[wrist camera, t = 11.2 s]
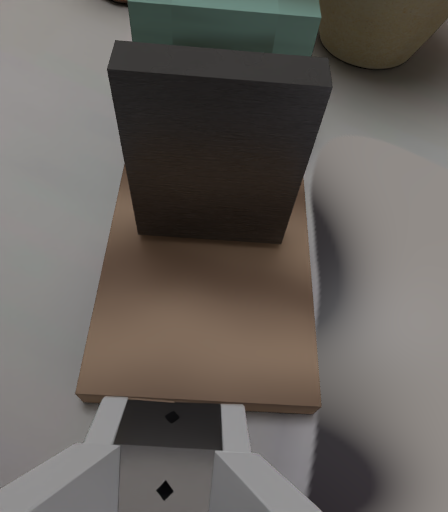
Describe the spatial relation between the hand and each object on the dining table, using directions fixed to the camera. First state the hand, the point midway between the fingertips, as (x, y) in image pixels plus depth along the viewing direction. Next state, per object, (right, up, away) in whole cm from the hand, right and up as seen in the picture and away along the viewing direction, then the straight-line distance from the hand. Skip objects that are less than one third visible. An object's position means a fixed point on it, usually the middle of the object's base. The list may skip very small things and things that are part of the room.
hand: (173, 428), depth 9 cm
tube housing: (0, +7, +15) cm, 17 cm away
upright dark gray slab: (+1, +10, +15) cm, 18 cm away
